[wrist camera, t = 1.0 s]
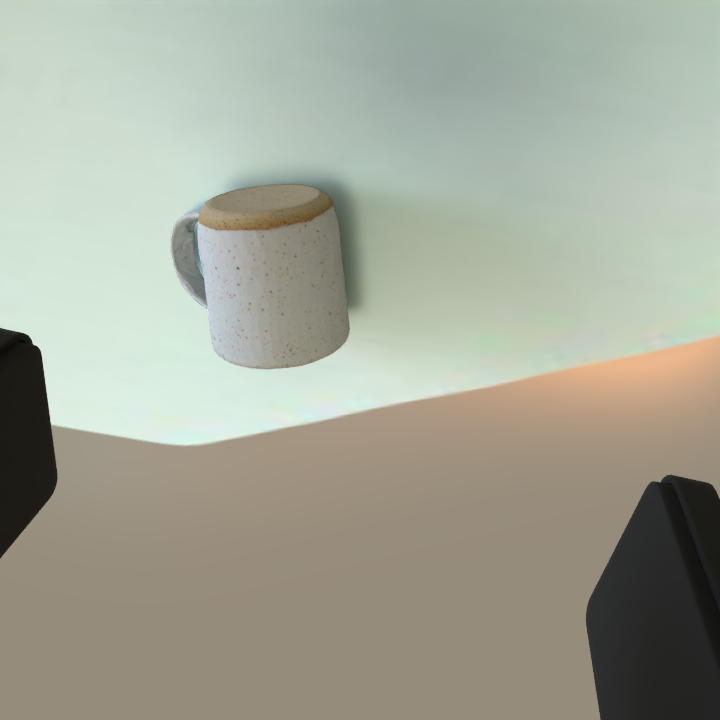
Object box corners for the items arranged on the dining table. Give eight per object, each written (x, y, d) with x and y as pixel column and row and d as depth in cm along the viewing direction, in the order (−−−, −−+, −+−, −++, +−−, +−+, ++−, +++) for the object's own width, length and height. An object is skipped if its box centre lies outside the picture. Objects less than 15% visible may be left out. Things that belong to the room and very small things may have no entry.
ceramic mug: (347, 173, 35) (312, 218, 29) (361, 310, 39) (333, 378, 33) (166, 182, 37) (96, 226, 31) (197, 311, 41) (140, 374, 35)
